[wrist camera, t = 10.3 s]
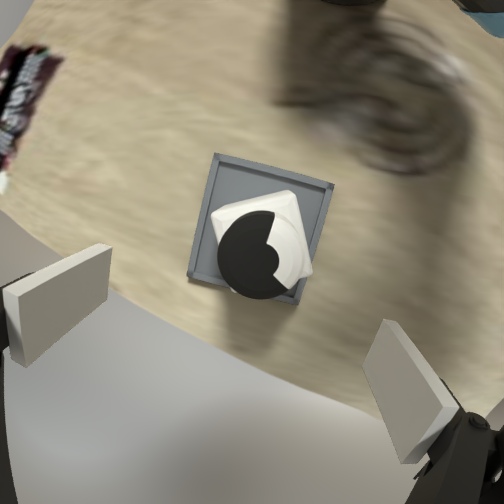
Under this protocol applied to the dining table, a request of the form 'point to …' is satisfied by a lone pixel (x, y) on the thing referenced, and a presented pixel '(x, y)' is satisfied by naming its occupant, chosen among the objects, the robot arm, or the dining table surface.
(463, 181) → the dining table surface
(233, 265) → the container
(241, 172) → the tray
